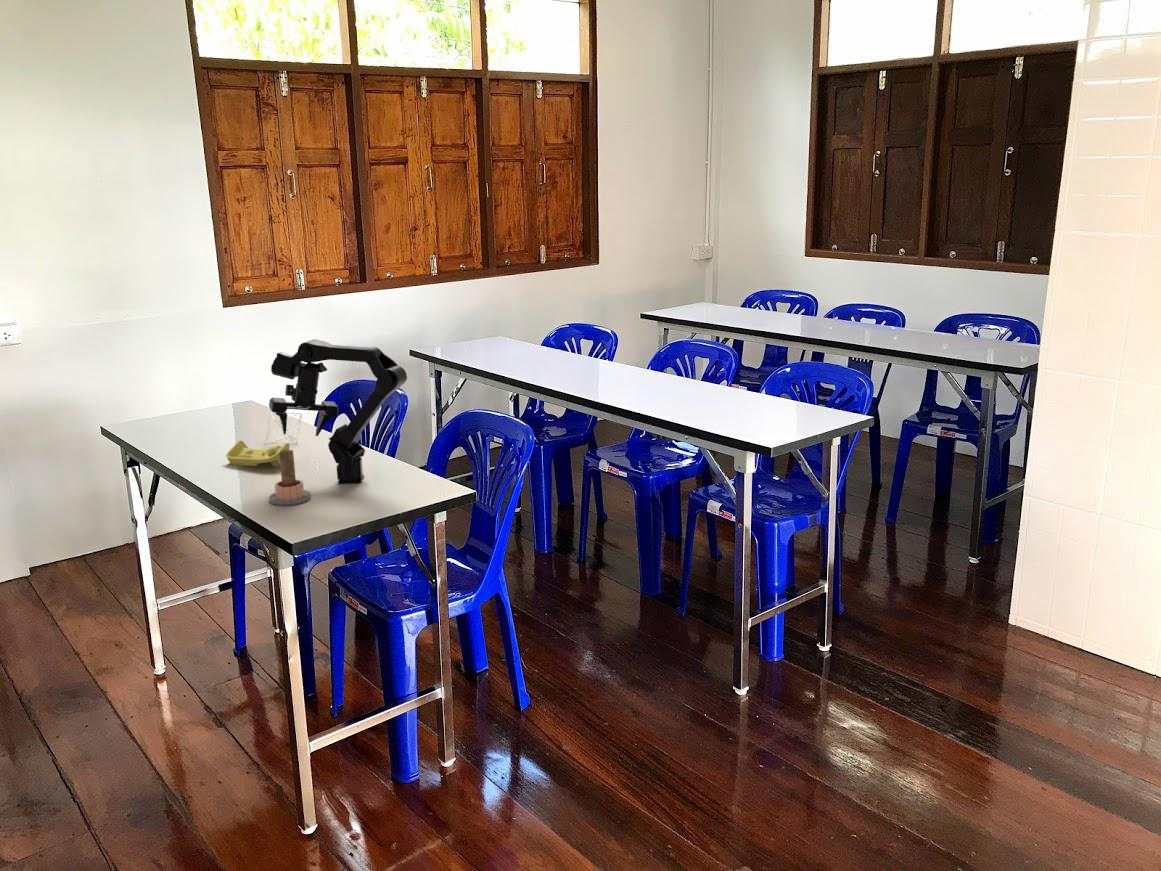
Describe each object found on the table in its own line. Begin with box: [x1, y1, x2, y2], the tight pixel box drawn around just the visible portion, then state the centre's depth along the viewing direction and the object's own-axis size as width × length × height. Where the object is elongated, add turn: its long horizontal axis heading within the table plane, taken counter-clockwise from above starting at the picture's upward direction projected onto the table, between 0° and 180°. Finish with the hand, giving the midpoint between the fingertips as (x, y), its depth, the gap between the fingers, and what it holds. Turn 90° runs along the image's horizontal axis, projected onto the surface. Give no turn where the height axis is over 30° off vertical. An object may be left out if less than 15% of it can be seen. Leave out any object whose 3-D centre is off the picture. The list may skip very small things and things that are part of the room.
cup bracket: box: [268, 479, 312, 507], centre depth 263 cm, size 11×11×4 cm
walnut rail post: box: [279, 449, 297, 487], centre depth 262 cm, size 4×4×12 cm
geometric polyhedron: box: [264, 412, 303, 445], centre depth 322 cm, size 12×11×9 cm
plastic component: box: [225, 440, 290, 468], centre depth 297 cm, size 20×7×10 cm
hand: (300, 435), depth 280 cm, fingers open, 9 cm apart
